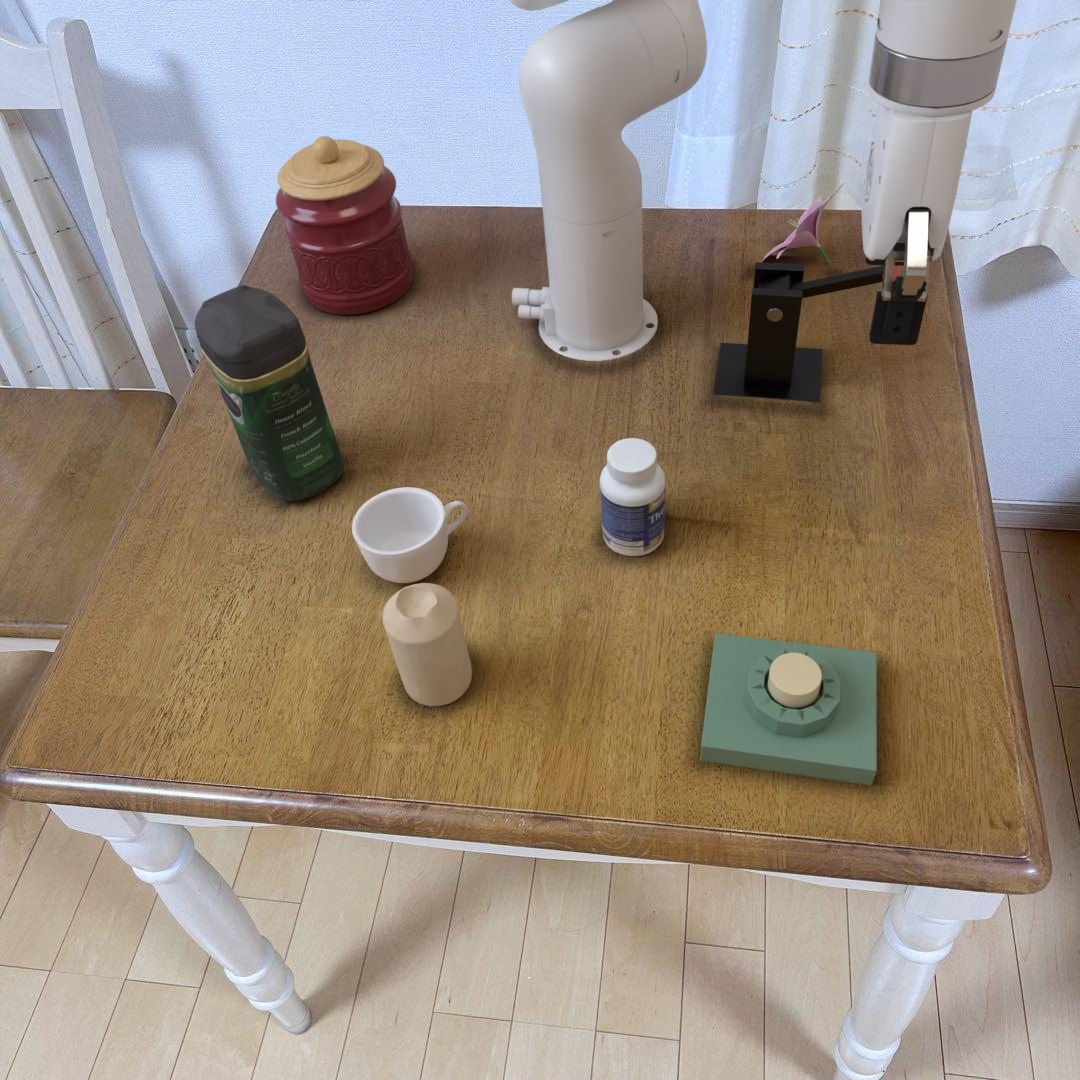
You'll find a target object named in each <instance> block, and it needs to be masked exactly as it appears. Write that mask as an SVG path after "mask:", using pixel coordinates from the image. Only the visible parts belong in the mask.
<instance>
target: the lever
mask: <svg viewBox="0 0 1080 1080" xmlns="http://www.w3.org/2000/svg"><path fill="white" fill-rule="evenodd" d="M883 274H884V265H877V266H873V267H869V268H864V269H859V270H855V271H850V272H845V273H841V274H835V275H830V276H826V277H822V278H816V279H812V280H807V281H803V282H802V283H797V284H792V281H791V277H790V275H787V276H782V277H777V278H773V279H768V280H763V281H760V282H759V288H769V289H787V290H803V295H802V299H806V298H811V297H816V296H821V295H825V294H830V293H837V292H840V291H846V290H850V289H856V288H860V287H861V288H862V287H866V286H870V285H876V284H880V283H882V284H881V285H883ZM897 276H901V266H894V275H893V281H894V280H895V278H896V277H897Z"/></svg>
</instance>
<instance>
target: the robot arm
mask: <svg viewBox="0 0 1080 1080" xmlns="http://www.w3.org/2000/svg"><path fill="white" fill-rule="evenodd" d="M568 1H569V0H509V2H510V3H511V4H512V5H513V6H515V7H517V8H518V9H521V10H524V11H529V12H531V11H541V10H545V9H548V8H552V7H554V6H558V5H560V4H563V3H566V2H568ZM1016 6H1017V0H879V6H878V14H877V21H876V25H875V26H876V27H875V32H874V40H873V45H872V52H871V53H872V54H871V60H870V67H869V68H870V69H869V73H868V79H867V92H868V95H869V96H870V98H871V99H873V100H874V102H876V103H877V108H876V113H875V118H874V123H873V130H872V134H871V141H870V145H869V151H868V156H867V161H866V166H865V172H864V175H863V176H864V177H863V182H862V187H861V197H860V198H861V199H860V205H861V206H860V209H861V210H860V211H861V234H862V235H861V236H862V249H863V254H864V255H865V263H866V264H867V265H868V266H869V265H870V266H882V265H884V274H883V285H882V284H881V285H882V286H881V290H877V292H876V295H875V302H874V307H873V313H872V318H871V324H870V330H869V335H868V336H869V342H870V343H871V344H873V345H893V346H894V345H898V346H914V345H916V344H917V343H918V340H919V337H920V331H921V329H922V323H923V318H924V314H925V309H926V304H927V300H928V285H929V277H930V276H929V275H930V264H931V263H932V262H934V261H935V260H937V259H938V258H939V257H940V256H941V255H942V252H943V250H944V247H945V243H946V239H947V236H948V231H949V227H950V224H951V220H952V215H953V211H954V205H955V202H956V196H957V192H958V187H959V183H960V178H961V172H962V168H963V162H964V158H965V152H966V149H967V147H968V142H967V141H968V137H969V132H970V126H971V121H972V116H973V111H975V110H978V109H980V108H982V107H984V106H985V105H987V104H988V103H990V102H991V100H992V99H993V98H994V96H995V94H996V89H997V86H998V80H999V75H1000V71H1001V68H1002V63H1003V60H1004V55H1005V51H1006V46H1007V42H1008V38H1009V35H1010V29H1011V25H1012V21H1013V17H1014V12H1015V9H1016ZM707 58H708V40H707V32H706V27H705V22H704V19H703V14H702V11H701V8H700V4H699V0H611V2H608V3H606V4H604V5H601V6H597V7H595V8H593V9H590V10H588V11H585V12H584V13H581V14H579V15H576V16H574V17H572V18H569V19H567V20H565V21H563V22H560V23H559V24H557V25H555V26H553V27H551V28H550V29H548V30H547V31H545V32H544V33H542V34H541V35H540V36H539V37H537V38H536V39H535V40H534V41H533V42H532V43H531V44H530V46H529V47H528V48H527V50H526V52H525V54H524V55H523V57H522V60H521V62H520V66H519V72H518V86H519V94H520V97H521V102H522V105H523V109H524V112H525V115H526V119H527V122H528V125H529V129H530V133H531V136H532V140H533V141H532V142H533V146H534V150H535V156H536V163H537V168H538V169H537V170H538V177H539V187H540V199H541V200H540V201H541V206H542V220H543V230H544V240H545V252H546V264H547V274H548V285H549V286H542V288H541V289H531V288H526V287H512V288H513V289H512V291H511V304H512V306H513V307H518V308H517V317H518V319H521V320H522V319H523V320H532V319H533V320H534V319H535V320H539V321H538V331H539V332H538V333H539V336H540V338H541V339H542V342H543V343H544V344H545V345H546V346H547V347H548V348H549V349H551V350H552V351H554V352H555V353H557V354H559V355H561V356H564V357H566V358H570V359H574V360H577V361H578V360H579V361H587V362H602V361H611V360H614V359H615V360H616V359H619V358H622V357H626V356H628V355H631V354H633V353H636V352H637V351H638V350H641V349H642V348H643V347H644V346H646V345H647V344H648V343H650V341H651V340H652V339H653V337H654V336H655V334H656V332H657V329H658V325H659V319H658V314H657V313H656V310H655V308H654V307H653V305H651V303H650V302H649V301H647V300H646V299H644V249H643V248H644V245H643V244H644V243H643V242H644V241H643V238H644V237H643V236H644V235H643V230H644V229H643V179H642V171H641V167H640V164H639V161H638V159H637V157H636V156H635V154H634V153H633V151H632V150H631V149H630V148H629V147H628V146H627V145H626V143H625V142H624V140H623V136H622V132H623V130H624V128H625V127H626V126H627V125H628V124H630V123H632V122H634V121H637V120H638V119H640V118H641V117H642V116H644V115H645V114H647V113H650V112H651V111H654V110H656V109H657V108H660V107H662V106H663V105H665V104H668V103H669V102H671V101H674V100H675V99H677V98H679V97H681V96H682V95H684V94H686V93H687V92H689V91H690V90H691V89H692V88H693V87H694V86H695V85H696V84H697V83H698V82H699V80H700V78H701V77H702V75H703V72H704V70H705V67H706V64H707V63H706V62H707ZM894 266H900V267H902V269H901V270H902V271H901V275H900V276H897V277H896V278H895V280H894V281H893V275H894ZM647 325H653V326H652V327H647ZM561 348H567V350H565V351H562V350H560V349H561ZM615 351H618V352H620V353H619V354H614V353H613V352H615Z"/></svg>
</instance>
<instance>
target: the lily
mask: <svg viewBox="0 0 1080 1080" xmlns="http://www.w3.org/2000/svg"><path fill="white" fill-rule="evenodd" d="M846 183H847V181H846V182H844V183H843V184H841V185H840V186H839V187H837V188H836V189H835V190H834V191H833V192H832V193H831V194H830V195H829V196H828V197H827V198H826V199H825V200H824V201H823V200H822V195H823V193H821V194H820V195H819V196H818V197H817V198H816V199H815V200H814V201H813V202H812V203H811V204H810V205H809V206H808V207H807V208H806V210H805V211H804V212H803V213H802V215H801V216H800V217H798V216H796V220H797V222H796V221H795V219H794V217H792V216H791V217H790V218H791V219H790V218H787V220H788V221H786V220H784V223H787V224H788V223H789V224H791V225H792V226H793V227H795V229H794V230H792V232H791V233H790V234H789V236H788V237H787V238H786V239H785V240H784V242H782V243H779V244H778V245H776V246H775V247H773V248H772V249H771V250H770V251H769V252H767V253H766V254H765V256H764V257H763V259H762V260H761V262H760V263H764V261H765V260H766V259H767V258H768V257H769V256H771V255H772V254H773V253H774V252H776V251H779V250H780V249H782V248H784V249H782V250H780V251H779V252H778V253H777V255H776V260H777V259H779V258H780V257H781V255H783V253H784V252H785V250H788V249H796V248H804V247H810V246H814V247H816V248H817V249H818V250H819V252H820V253H821V254H822V256H823V258H824V260H825V261H826V263H827V266H829V267H831V266H832V263H831V261H830V259H829V256H828V255H827V253H826V252H825V251H824V249H823V248H822V246H821V244H820V242H819V239H818V238H819V227H820V221H821V218H822V217H821V216H822V214H823V211H824V210H825V207H826V206H827V204H828V203H829V202H830V201H831V199H832V198H833V197H834V196H835V195H836V193H837V192H838V191H839V190H840V189H841V188H843V186H844V185H845V184H846Z"/></svg>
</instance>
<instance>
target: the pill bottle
mask: <svg viewBox="0 0 1080 1080" xmlns="http://www.w3.org/2000/svg"><path fill="white" fill-rule="evenodd" d="M599 476H600V477H599V492H600V495H599V496H600V509H601V529H602V537H603V540H604V542H605V544H606V546H607V547H608V548H609V549H611V550H612V551H613V552H615V553H617V554H620V555H623V556H627V557H641V556H645V555H648V554H651V553H652V552H653V551H655V550H656V549H657V548H658V547H659V546H660V545H661V544H662V542H663V540H664V536H665V527H666V526H665V523H666V477H665V476H666V475H665V472H664V470H663V468H662V466H660V464H659V463H658V455H657V450H656V449H655V447H654V446H653V445H652V444H651V443H650V442H649V441H647V440H644V439H641V438H636V437H628V438H623V439H620V440H617V441H616V442H614V443H613V444H612V445H611V446H610V447H609V448H608V450H607V453H606V465H605V466H604V467H603V469H602V470H601V474H600V475H599Z"/></svg>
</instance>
